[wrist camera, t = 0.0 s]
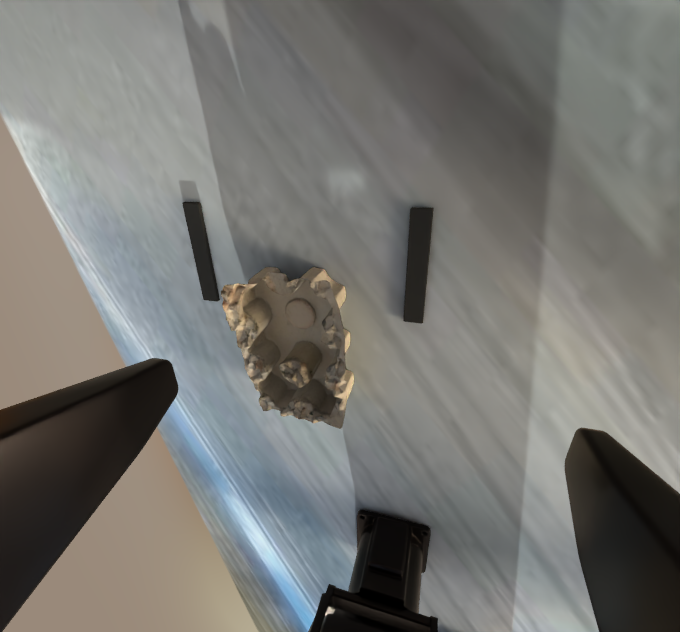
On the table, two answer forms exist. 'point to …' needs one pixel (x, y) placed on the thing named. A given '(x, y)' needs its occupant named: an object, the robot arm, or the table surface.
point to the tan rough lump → (293, 342)
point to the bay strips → (415, 260)
